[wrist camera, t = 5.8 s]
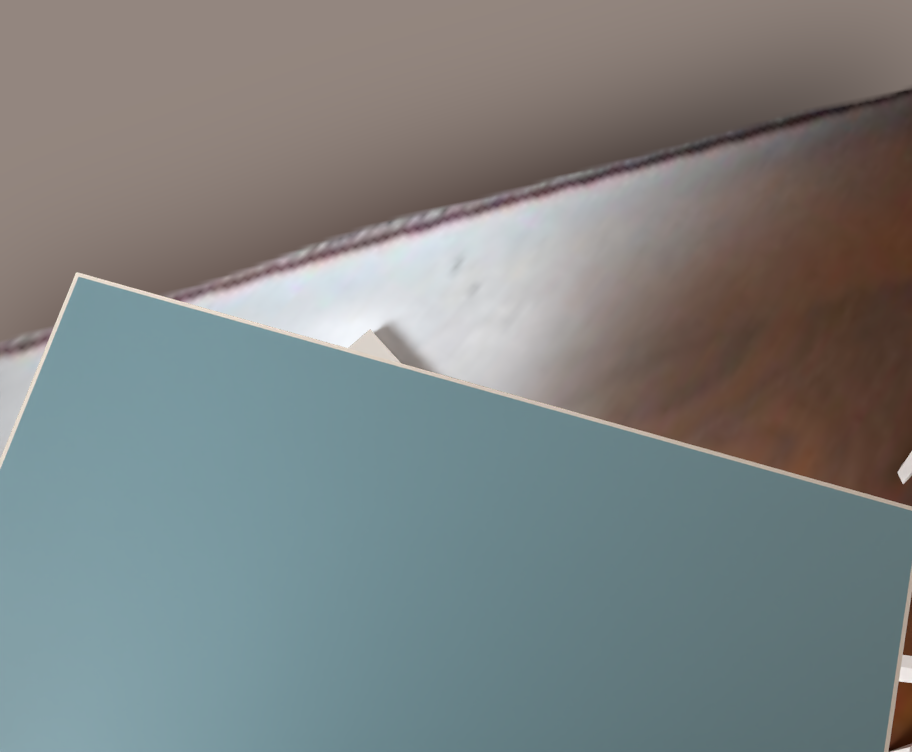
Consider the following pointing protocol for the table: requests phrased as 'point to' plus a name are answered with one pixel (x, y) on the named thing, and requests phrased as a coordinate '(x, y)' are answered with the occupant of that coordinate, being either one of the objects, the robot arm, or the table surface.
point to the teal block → (410, 562)
